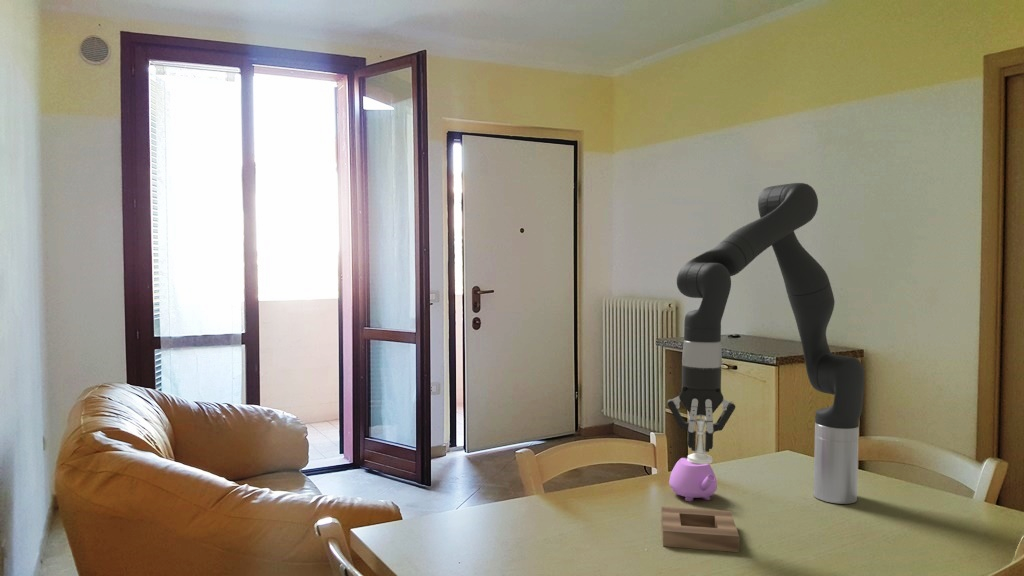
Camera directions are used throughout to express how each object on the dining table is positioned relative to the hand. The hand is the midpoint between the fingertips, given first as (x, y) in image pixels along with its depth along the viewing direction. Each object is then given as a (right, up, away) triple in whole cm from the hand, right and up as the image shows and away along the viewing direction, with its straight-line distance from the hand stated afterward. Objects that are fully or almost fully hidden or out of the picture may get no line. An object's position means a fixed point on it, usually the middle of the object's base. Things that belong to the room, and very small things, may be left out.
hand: (699, 450), depth 143 cm
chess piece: (0, -2, 0) cm, 2 cm away
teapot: (+5, -17, +24) cm, 30 cm away
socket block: (0, -17, +1) cm, 17 cm away
